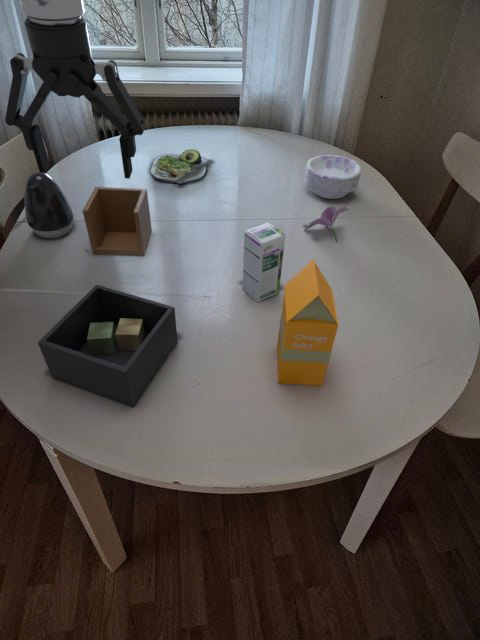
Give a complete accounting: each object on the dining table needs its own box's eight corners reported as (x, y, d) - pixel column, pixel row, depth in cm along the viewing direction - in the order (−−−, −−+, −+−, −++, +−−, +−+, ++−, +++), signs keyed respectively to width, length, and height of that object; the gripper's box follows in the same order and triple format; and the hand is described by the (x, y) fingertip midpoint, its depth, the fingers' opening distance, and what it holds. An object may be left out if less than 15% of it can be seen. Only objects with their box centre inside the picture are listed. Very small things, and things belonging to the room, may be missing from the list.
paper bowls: (301, 201, 120) (305, 173, 115) (304, 177, 131) (308, 151, 126) (356, 207, 119) (362, 180, 113) (355, 183, 130) (361, 157, 124)
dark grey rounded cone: (26, 245, 100) (4, 183, 90) (40, 221, 108) (21, 162, 97) (70, 245, 101) (54, 184, 90) (81, 222, 108) (66, 163, 98)
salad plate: (206, 190, 123) (206, 174, 120) (144, 186, 123) (142, 171, 120) (213, 162, 137) (212, 147, 134) (157, 158, 137) (156, 144, 134)
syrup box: (258, 303, 88) (263, 243, 78) (240, 288, 91) (243, 228, 81) (279, 293, 91) (287, 234, 81) (261, 279, 94) (267, 220, 84)
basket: (52, 378, 72) (37, 342, 66) (105, 319, 83) (96, 284, 77) (133, 407, 69) (125, 372, 63) (177, 342, 79) (174, 306, 73)
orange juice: (318, 348, 79) (338, 259, 66) (322, 386, 73) (347, 296, 59) (275, 346, 80) (287, 256, 66) (277, 383, 73) (290, 293, 59)
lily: (351, 230, 112) (343, 194, 109) (364, 238, 101) (355, 198, 98) (306, 244, 113) (297, 208, 110) (314, 253, 102) (304, 214, 99)
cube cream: (115, 334, 74) (120, 318, 77) (118, 349, 76) (123, 333, 79) (138, 334, 74) (142, 318, 77) (141, 350, 76) (145, 334, 79)
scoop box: (93, 258, 97) (82, 210, 89) (104, 232, 105) (95, 186, 97) (144, 259, 98) (138, 212, 89) (152, 234, 105) (146, 188, 97)
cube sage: (86, 339, 73) (90, 322, 75) (91, 354, 75) (94, 338, 78) (110, 337, 73) (113, 321, 76) (114, 353, 76) (117, 337, 79)
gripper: (-61, 16, 52) (0, 177, 67) (148, 33, 53) (160, 188, 68) (-33, 1, 57) (17, 154, 72) (157, 17, 58) (166, 165, 73)
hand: (87, 171), depth 70 cm, fingers open, 13 cm apart
